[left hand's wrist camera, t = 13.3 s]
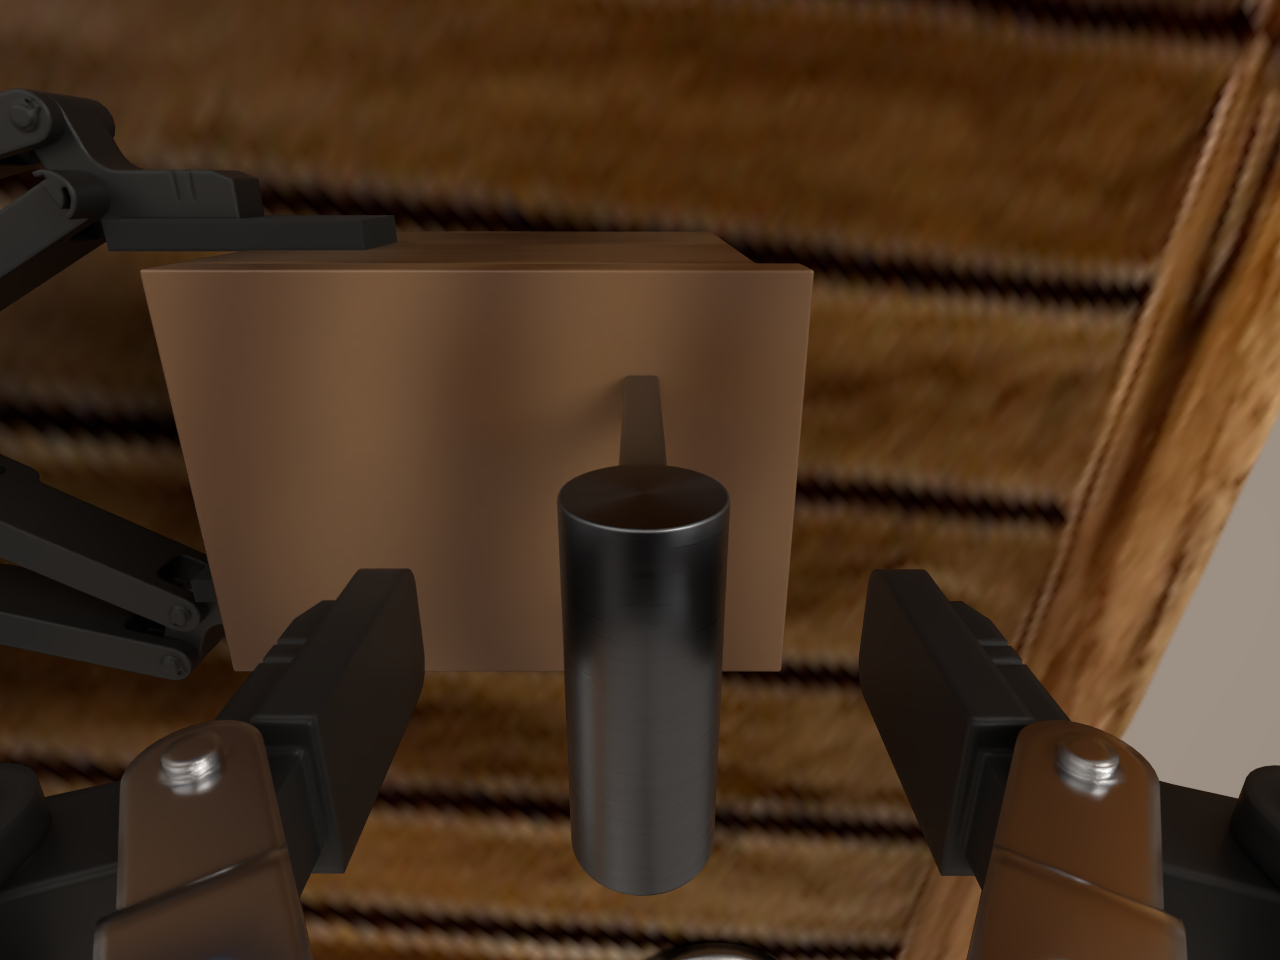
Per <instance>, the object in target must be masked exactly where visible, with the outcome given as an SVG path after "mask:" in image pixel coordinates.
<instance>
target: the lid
mask: <svg viewBox="0 0 1280 960" xmlns="http://www.w3.org/2000/svg"><path fill="white" fill-rule="evenodd" d="M140 275H141V279H142V283H143V287H144V292H145V296H146V300H147V304H148V309H149V313H150V317H151V321H152V326H153V330H154V334H155V338H156V342H157V347H158V351H159V355H160V359H161V364H162V368H163V372H164V376H165V381H166V385H167V389H168V393H169V398H170V402H171V406H172V410H173V415H174V419H175V423H176V427H177V432H178V436H179V440H180V444H181V449H182V453H183V457H184V461H185V466H186V470H187V474H188V478H189V482H190V487H191V491H192V495H193V499H194V504H195V508H196V512H197V516H198V521H199V525H200V529H201V533H202V538H203V542H204V546H205V550H206V555H207V559H208V563H209V567H210V572H211V576H212V580H213V584H214V589H215V593H216V597H217V601H218V606H219V610H220V614H221V618H222V622H223V627H224V631H225V635H226V639H227V644H228V648H229V652H230V656H231V661H232V665H233V669H234V671H253V670H254V669H255V668H256V667H257V665H258V664H259V663H263V658H264V657H265V655H266V654H267V653H268V651H269V650H270V649H271V648H272V646H273V645H277V640H278V639H279V638H280V636H281V635H282V634H283V632H284V631H285V630H286V629H287V627H288V626H289V625H290V624H291V622H292V621H293V620H294V619H295V618H296V617H298V616H299V615H301V614H302V613H304V612H305V611H307V610H308V609H310V608H312V607H313V606H315V605H316V604H318V603H319V602H321V601H322V600H336V599H337V598H338V596H339V595H340V594H341V592H342V591H343V589H344V588H345V587H346V585H347V584H348V582H349V581H350V580H351V578H352V577H353V576H354V574H355V573H356V572H357V571H358V570H359V569H361V568H409V569H410V570H411V571H412V572H413V575H414V578H415V582H416V589H417V597H418V605H419V613H420V621H421V629H422V637H423V645H424V654H425V671H564V676H565V700H566V723H567V746H568V769H569V792H570V816H571V839H572V847H573V850H574V853H575V856H576V858H577V860H578V862H579V863H580V865H581V866H582V868H583V869H584V870H585V871H586V873H587V874H588V875H589V876H590V877H592V878H593V879H594V880H595V881H597V882H598V883H600V884H601V885H603V886H605V887H607V888H609V889H611V890H614V891H617V892H620V893H624V894H630V895H640V896H646V895H656V894H662V893H666V892H669V891H672V890H674V889H677V888H679V887H681V886H683V885H684V884H686V883H688V882H689V881H690V880H692V879H693V878H694V877H695V876H696V875H697V874H698V873H699V872H700V871H701V870H702V869H703V867H704V866H705V864H706V863H707V861H708V859H709V857H710V855H711V852H712V848H713V842H714V825H715V805H716V785H717V764H718V744H719V723H720V703H721V682H722V671H780V670H781V662H782V650H783V638H784V626H785V614H786V602H787V590H788V578H789V566H790V554H791V542H792V530H793V518H794V506H795V494H796V482H797V470H798V458H799V446H800V434H801V422H802V410H803V398H804V386H805V374H806V362H807V350H808V338H809V326H810V313H811V301H812V289H813V277H814V272H813V270H811V269H809V268H807V267H805V266H803V265H801V264H496V263H175V264H169V265H163V266H158V267H152V268H146V269H142V270H140Z"/></svg>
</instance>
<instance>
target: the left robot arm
mask: <svg viewBox="0 0 1280 960" xmlns="http://www.w3.org/2000/svg"><path fill="white" fill-rule="evenodd" d="M424 673H425V654H424V645H423V637H422V629H421V621H420V613H419V605H418V597H417V589H416V582H415V578H414V575H413V572H412V571H411V570H410V569H409V568H361V569H359V570H358V571H357V572H356V573H355V574H354V576H353V577H352V578H351V580H350V581H349V582H348V584H347V585H346V587H345V588H344V589H343V591H342V592H341V594H340V595H339V596H338V598H337V599H336V600H322V601H321V602H319V603H318V604H316V605H315V606H313V607H312V608H310V609H308V610H307V611H305V612H304V613H302V614H301V615H299V616H298V617H296V618H295V619H294V620H293V621H292V622H291V624H290V625H289V626H288V627H287V629H286V630H285V631H284V632H283V634H282V635H281V636H280V638H279V639H278V640H277V645H273V646H272V648H271V649H270V650H269V651H268V653H267V654H266V655H265V657H264V658H263V663H259V664H258V665H257V667H256V668H255V669H254V670H253V672H252V673H251V674H250V676H249V677H248V678H247V679H246V681H245V682H244V683H243V684H242V686H241V687H240V688H239V690H238V691H237V692H236V693H235V695H234V696H233V697H232V698H231V700H230V701H229V702H228V703H227V705H226V706H225V707H224V709H223V710H222V711H221V712H220V714H219V715H218V716H217V717H216V719H215V720H214V721H209V722H204V723H200V724H196V725H192V726H189V727H186V728H183V729H181V730H178V731H176V732H174V733H171V734H169V735H167V736H165V737H164V738H162V739H160V740H158V741H156V742H155V743H153V744H152V745H150V746H149V747H148V748H146V749H145V750H144V751H143V752H141V753H140V754H139V755H138V756H137V757H136V758H135V759H134V760H133V761H132V762H131V763H130V765H129V766H128V768H127V769H126V770H125V772H124V775H123V777H122V779H121V780H120V781H116V782H112V783H108V784H103V785H98V786H94V787H89V788H85V789H80V790H75V791H71V792H66V793H62V794H57V795H53V796H48V797H45V796H44V794H43V791H42V788H41V786H40V783H39V780H38V778H37V775H36V774H35V772H34V771H33V770H32V769H30V768H29V767H27V766H24V765H21V764H15V763H0V960H314V959H313V955H312V950H311V946H310V941H309V937H308V932H307V928H306V923H305V919H304V914H303V910H302V906H301V901H300V895H301V893H302V891H303V889H304V887H305V885H306V883H307V881H308V878H309V876H310V874H311V873H344V872H345V870H346V868H347V865H348V863H349V861H350V858H351V856H352V854H353V851H354V849H355V847H356V844H357V842H358V840H359V837H360V835H361V833H362V830H363V828H364V826H365V823H366V821H367V819H368V816H369V814H370V811H371V809H372V807H373V804H374V802H375V800H376V797H377V795H378V793H379V790H380V788H381V786H382V783H383V781H384V779H385V776H386V774H387V772H388V769H389V767H390V765H391V762H392V760H393V758H394V755H395V753H396V751H397V748H398V746H399V744H400V741H401V739H402V737H403V734H404V732H405V730H406V727H407V725H408V723H409V720H410V718H411V716H412V713H413V711H414V709H415V706H416V704H417V701H418V699H419V697H420V694H421V691H422V686H423V681H424ZM859 676H860V684H861V689H862V692H863V696H864V698H865V701H866V703H867V705H868V708H869V710H870V712H871V715H872V717H873V719H874V722H875V724H876V726H877V728H878V731H879V733H880V735H881V738H882V740H883V742H884V745H885V747H886V749H887V751H888V754H889V756H890V758H891V761H892V763H893V765H894V768H895V770H896V772H897V775H898V777H899V779H900V781H901V784H902V786H903V788H904V791H905V793H906V795H907V798H908V800H909V802H910V805H911V807H912V809H913V811H914V814H915V816H916V818H917V821H918V823H919V825H920V828H921V830H922V832H923V834H924V837H925V839H926V841H927V844H928V846H929V848H930V851H931V853H932V855H933V858H934V860H935V862H936V864H937V867H938V869H939V871H940V874H941V876H975V877H976V879H977V881H978V883H979V885H980V887H981V889H982V892H981V897H980V901H979V906H978V910H977V914H976V919H975V923H974V928H973V932H972V937H971V941H970V946H969V950H968V955H967V959H966V960H1280V766H1276V765H1274V766H1264V767H1261V768H1257V769H1255V770H1253V771H1252V772H1250V773H1249V775H1248V776H1247V777H1246V780H1245V782H1244V785H1243V788H1242V790H1241V793H1240V795H1239V798H1238V799H1237V798H1233V797H1228V796H1224V795H1219V794H1215V793H1210V792H1206V791H1201V790H1196V789H1192V788H1187V787H1183V786H1178V785H1173V784H1170V783H1166V782H1162V781H1159V779H1158V777H1157V775H1156V772H1155V770H1154V769H1153V768H1152V766H1151V765H1150V763H1149V762H1148V761H1147V760H1146V759H1145V758H1144V757H1143V756H1142V755H1141V754H1140V753H1139V752H1137V751H1136V750H1135V749H1134V748H1133V747H1131V746H1130V745H1128V744H1127V743H1125V742H1124V741H1122V740H1120V739H1118V738H1116V737H1115V736H1113V735H1111V734H1109V733H1106V732H1104V731H1102V730H1099V729H1097V728H1094V727H1091V726H1088V725H1084V724H1080V723H1076V722H1071V721H1070V719H1069V718H1068V717H1067V715H1066V714H1065V713H1064V712H1063V710H1062V709H1061V708H1060V707H1059V705H1058V704H1057V703H1056V702H1055V700H1054V699H1053V698H1052V697H1051V695H1050V694H1049V693H1048V692H1047V690H1046V689H1045V688H1044V687H1043V685H1042V684H1041V683H1040V682H1039V680H1038V679H1037V678H1036V677H1035V675H1034V674H1033V673H1032V672H1031V670H1030V669H1029V668H1028V667H1027V665H1023V664H1022V659H1021V658H1020V657H1019V655H1018V654H1017V653H1016V652H1015V650H1014V649H1013V648H1012V647H1011V646H1008V642H1007V640H1006V639H1005V638H1004V637H1003V635H1002V634H1001V633H1000V631H999V630H998V629H997V628H996V626H995V625H994V624H993V623H992V621H991V620H990V619H988V618H987V617H985V616H983V615H982V614H980V613H979V612H977V611H976V610H974V609H973V608H971V607H970V606H968V605H967V604H965V603H964V602H962V601H948V599H947V598H946V597H945V595H944V594H943V593H942V591H941V590H940V588H939V587H938V586H937V584H936V583H935V582H934V580H933V579H932V578H931V576H930V575H929V573H928V572H927V571H925V570H923V569H876V570H874V571H873V572H872V573H871V576H870V578H869V583H868V590H867V597H866V605H865V613H864V621H863V629H862V637H861V645H860V652H859ZM653 960H775V959H774V958H772V957H771V956H769V955H767V954H765V953H763V952H761V951H758V950H756V949H753V948H750V947H746V946H742V945H737V944H730V943H701V944H694V945H688V946H684V947H680V948H677V949H674V950H671V951H669V952H667V953H664V954H662V955H660V956H658V957H657V958H655V959H653Z"/></svg>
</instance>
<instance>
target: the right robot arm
mask: <svg viewBox="0 0 1280 960" xmlns="http://www.w3.org/2000/svg"><path fill="white" fill-rule="evenodd" d="M114 135H115V124H114V121H113V117H112V116H111V114H110V113H109V111H108V110H107V108H105V107H104V106H103V105H102V104H100V103H99V102H97V101H94V100H91V99H87V98H81V97H74V96H67V95H61V94H54V93H47V92H41V91H34V90H28V89H10V90H7V91H4V92H1V93H0V179H1V178H4V177H7V176H10V175H14V174H17V173H20V172H23V171H27V170H30V169H33V168H36V167H40V166H44V168H45V169H46V170H43V169H40V170H37V171H35V172H32V174H33V175H34V176H35V177H46V179H45V180H44V181H42V182H41V183H39V184H38V185H36V186H35V187H34V188H32V189H31V190H29V191H28V192H26V193H25V194H23V195H22V196H20V197H19V198H18V199H16V200H15V201H13V202H12V203H10V204H9V205H7V206H6V207H5V208H3V209H2V210H0V311H1V310H3V309H4V308H6V307H7V306H9V305H10V304H12V303H14V302H15V301H17V300H18V299H20V298H21V297H23V296H24V295H26V294H27V293H29V292H30V291H32V290H33V289H35V288H36V287H38V286H39V285H41V284H42V283H44V282H45V281H47V280H48V279H50V278H52V277H53V276H55V275H56V274H58V273H59V272H61V271H62V270H64V269H65V268H67V267H68V266H70V265H71V264H73V263H74V262H76V261H77V260H79V259H80V258H82V257H83V256H85V255H86V254H88V253H90V252H91V251H93V250H94V249H96V248H97V247H99V246H100V245H102V244H103V243H105V242H107V246H108V250H109V251H248V250H368V249H372V248H376V247H380V246H384V245H388V244H392V243H396V242H397V236H396V227H395V218H394V215H264V210H263V204H262V198H261V193H260V187H259V181H258V179H257V178H255V177H252V176H250V175H247V174H245V173H242V172H240V171H224V170H144V169H141V168H138V167H136V166H135V165H133V164H132V163H130V162H129V161H128V160H127V159H126V158H125V157H124V156H123V154H122V153H121V151H120V150H119V148H118V146H117V145H116V143H115V141H114V139H113V137H114ZM0 558H3V559H5V560H8V561H10V562H12V563H15V564H17V565H20V566H22V567H19V566H13V565H7V564H0V644H1V645H6V646H11V647H16V648H21V649H25V650H30V651H35V652H40V653H45V654H49V655H54V656H59V657H64V658H69V659H73V660H78V661H83V662H88V663H93V664H98V665H102V666H107V667H112V668H117V669H122V670H126V671H131V672H136V673H141V674H146V675H150V676H155V677H160V678H165V679H170V680H181V679H184V678H186V677H187V676H188V675H189V674H190V673H191V672H192V671H193V670H194V669H195V667H196V666H197V665H198V664H199V663H200V662H201V661H202V660H203V659H204V658H205V657H206V655H207V654H208V653H209V652H210V651H211V650H212V649H213V648H214V647H215V646H216V645H217V643H218V642H219V641H220V640H221V639H222V638H223V637H224V636H225V631H224V627H223V622H222V618H221V614H220V610H219V606H218V601H217V597H216V593H215V589H214V584H213V580H212V576H211V572H210V567H209V563H208V559H207V555H206V554H204V553H201V552H199V551H197V550H194V549H192V548H190V547H188V546H185V545H183V544H181V543H178V542H176V541H174V540H172V539H169V538H167V537H165V536H162V535H160V534H158V533H155V532H153V531H151V530H149V529H146V528H144V527H142V526H139V525H137V524H135V523H132V522H130V521H128V520H126V519H123V518H121V517H119V516H116V515H114V514H112V513H110V512H107V511H105V510H103V509H100V508H98V507H96V506H93V505H91V504H89V503H87V502H84V501H82V500H80V499H77V498H75V497H73V496H70V495H68V494H66V493H64V492H61V491H59V490H57V489H54V488H52V487H50V486H48V485H45V484H43V483H42V482H40V480H39V473H38V472H37V471H36V470H34V469H33V468H31V467H28V466H26V465H24V464H22V463H19V462H17V461H15V460H12V459H10V458H8V457H6V456H3V455H1V454H0Z"/></svg>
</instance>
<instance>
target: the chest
mask: <svg viewBox="0 0 1280 960" xmlns="http://www.w3.org/2000/svg"><path fill="white" fill-rule="evenodd" d="M396 236H397V242H396V243H392V244H388V245H384V246H380V247H376V248H372V249H368V250H248V251H242V252H237V253H231V254H225V255H220V256H214V257H208V258H203V259H197V260H191V261H185V262H180V263H496V264H755V263H754V262H752V261H751V260H750V259H748V258H747V257H745V256H744V255H743V254H741V253H740V252H738V251H737V250H735V249H734V248H733V247H731V246H730V245H728V244H727V243H725V242H724V241H723V240H721V239H720V238H718V237H717V236H716V235H714V234H713V233H711V232H477V231H396Z"/></svg>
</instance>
